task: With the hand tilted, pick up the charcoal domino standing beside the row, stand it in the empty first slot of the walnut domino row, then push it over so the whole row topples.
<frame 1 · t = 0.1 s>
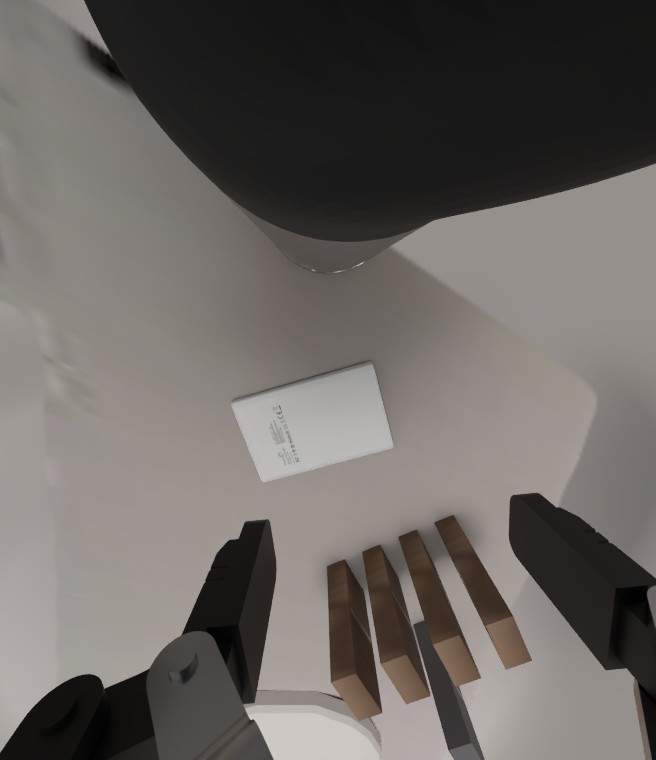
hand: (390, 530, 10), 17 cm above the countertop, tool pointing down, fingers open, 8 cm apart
decorative plate: (288, 747, 42), on the countertop
domino 2: (345, 579, 33), on the countertop
domino 5: (452, 537, 32), on the countertop
domino 4: (416, 550, 32), on the countertop
domino 3: (380, 565, 33), on the countertop
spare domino: (429, 635, 36), on the countertop
external hard drive: (315, 419, 29), on the countertop
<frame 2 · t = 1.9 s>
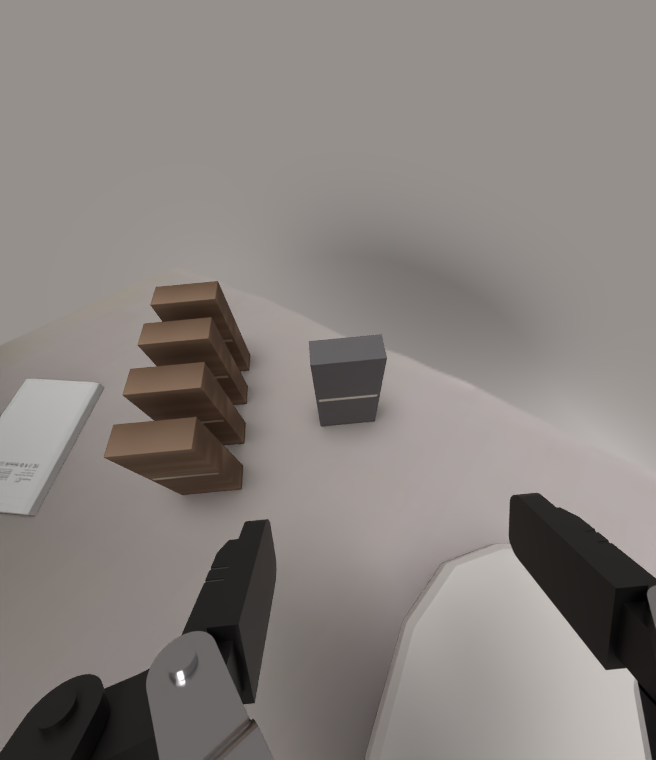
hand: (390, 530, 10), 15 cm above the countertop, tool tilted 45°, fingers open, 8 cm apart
domino 2: (213, 479, 27), on the countertop
domino 5: (226, 364, 33), on the countertop
domino 4: (222, 397, 31), on the countertop
domino 3: (217, 435, 29), on the countertop
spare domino: (346, 414, 29), on the countertop
external hard drive: (40, 444, 30), on the countertop
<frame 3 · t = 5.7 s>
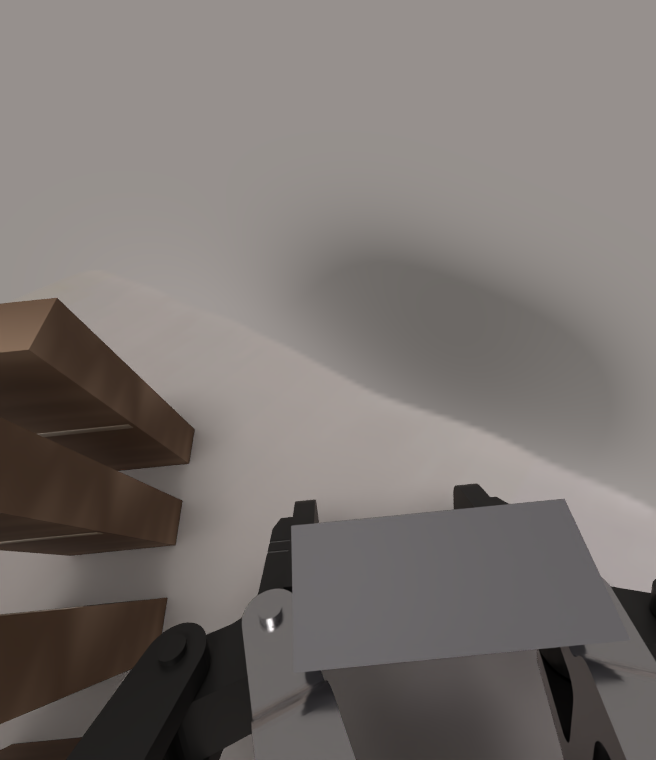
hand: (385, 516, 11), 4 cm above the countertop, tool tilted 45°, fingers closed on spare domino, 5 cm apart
domino 5: (147, 450, 17), on the countertop
domino 4: (128, 527, 15), on the countertop
domino 3: (103, 632, 13), on the countertop
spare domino: (384, 577, 14), on the countertop, touching gripper
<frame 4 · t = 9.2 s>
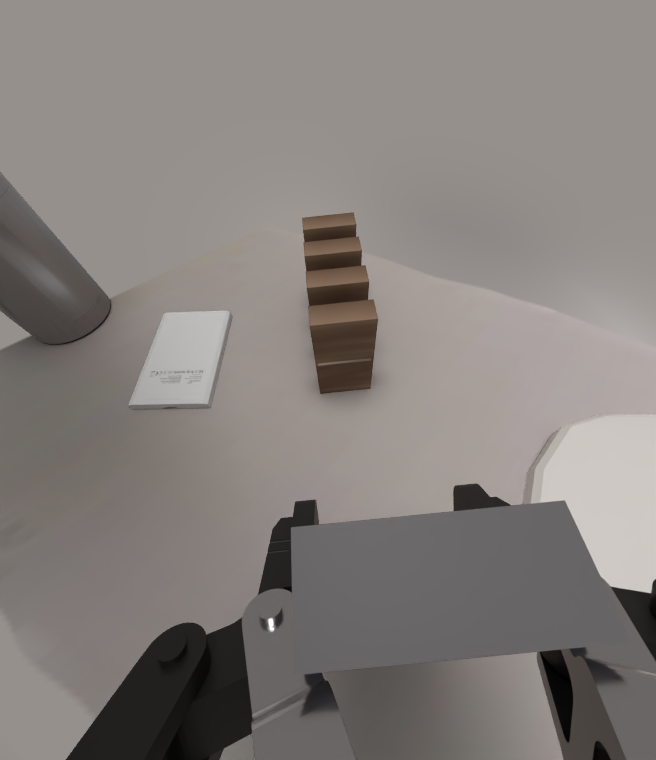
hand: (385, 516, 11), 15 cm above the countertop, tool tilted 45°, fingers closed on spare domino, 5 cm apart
domino 2: (344, 382, 32), on the countertop
domino 5: (333, 299, 38), on the countertop
domino 4: (336, 323, 36), on the countertop
domino 3: (339, 351, 34), on the countertop
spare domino: (384, 578, 14), point 11 cm above the countertop, touching gripper
external hard drive: (189, 362, 35), on the countertop
when the fingers open (5 cm above the countertop, at t = 12.7 s): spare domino stays where it is, on the countertop.
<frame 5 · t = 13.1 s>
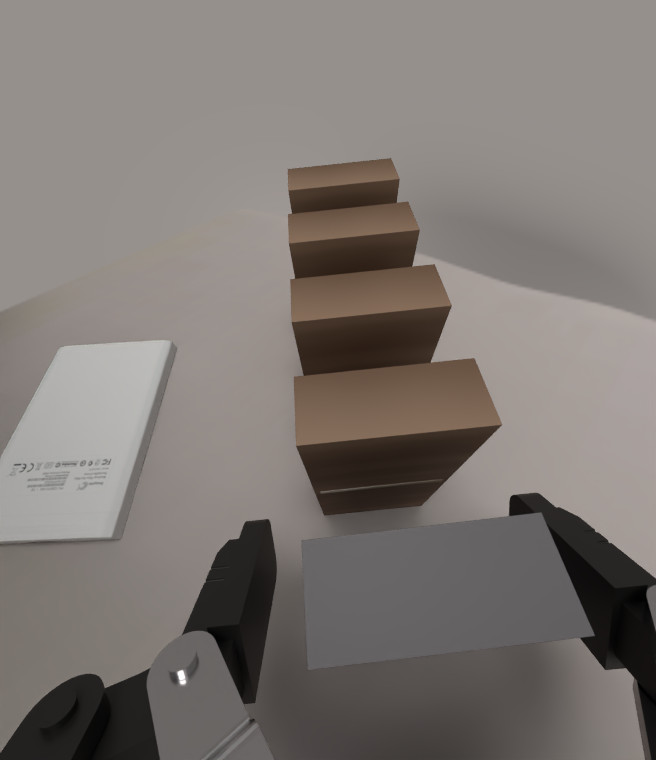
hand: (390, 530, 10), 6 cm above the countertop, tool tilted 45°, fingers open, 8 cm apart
domino 2: (369, 490, 17), on the countertop
domino 5: (344, 322, 23), on the countertop
domino 4: (350, 365, 21), on the countertop
domino 3: (358, 420, 19), on the countertop
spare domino: (384, 579, 14), on the countertop
external hard drive: (98, 435, 20), on the countertop
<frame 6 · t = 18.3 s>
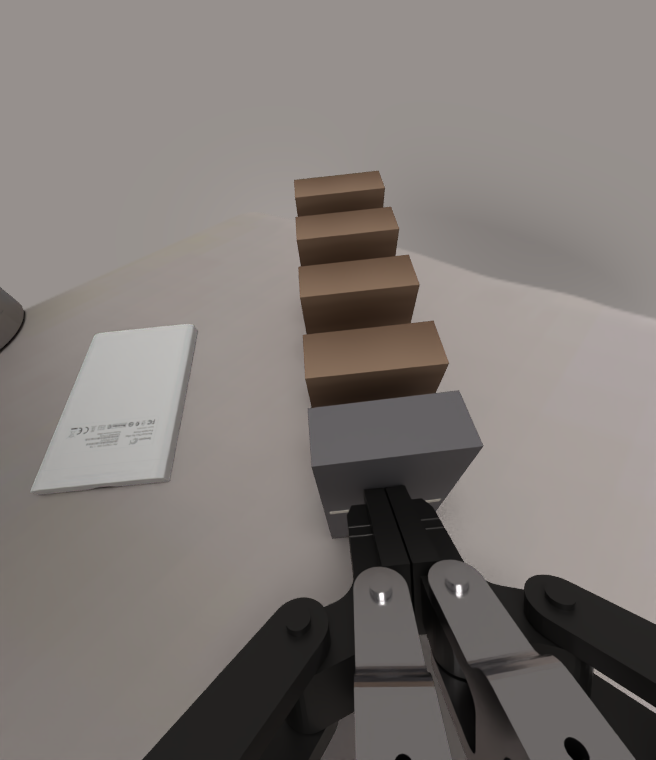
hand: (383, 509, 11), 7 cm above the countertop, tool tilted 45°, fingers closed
domino 2: (363, 446, 20), on the countertop
domino 5: (342, 310, 26), on the countertop
domino 4: (347, 346, 24), on the countertop
domino 3: (354, 391, 22), on the countertop
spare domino: (374, 513, 18), on the countertop, tilted 5°
external hard drive: (136, 406, 23), on the countertop
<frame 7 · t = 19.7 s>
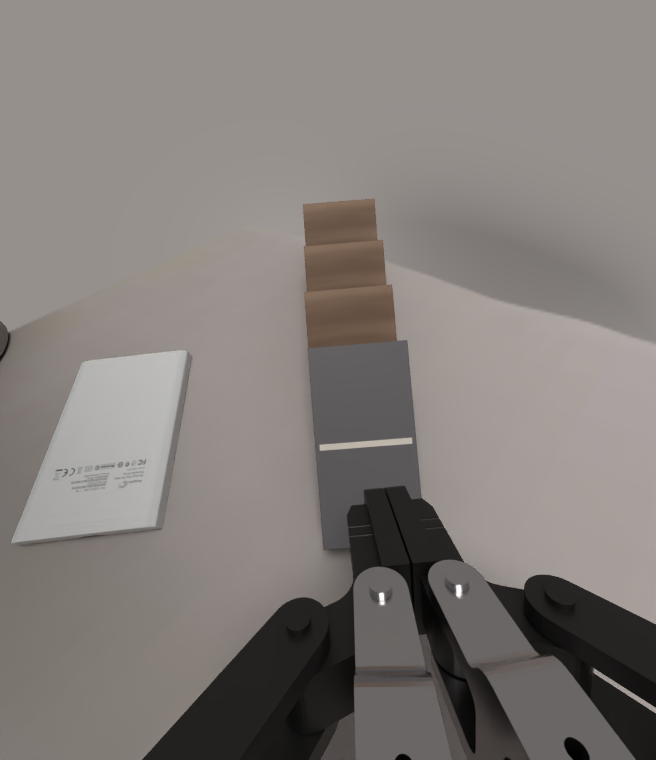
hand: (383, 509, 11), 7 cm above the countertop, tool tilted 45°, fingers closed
domino 2: (360, 460, 19), point 1 cm above the countertop, tilted 59°, touching domino 3, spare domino
domino 4: (347, 346, 23), point 1 cm above the countertop, tilted 58°, touching domino 3, domino 5
domino 3: (354, 399, 21), point 1 cm above the countertop, tilted 58°, touching domino 2, domino 4
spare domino: (371, 536, 16), point 1 cm above the countertop, tilted 59°, touching domino 2
external hard drive: (126, 440, 22), on the countertop
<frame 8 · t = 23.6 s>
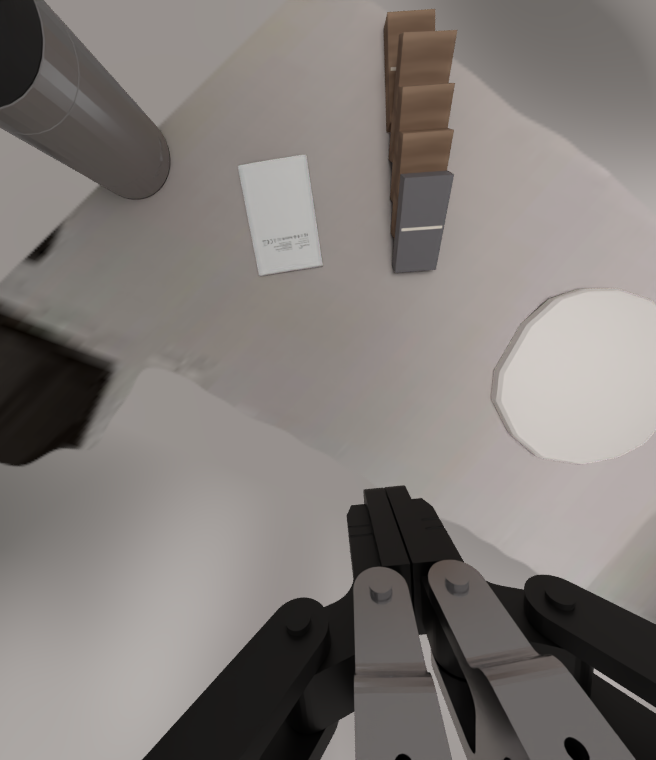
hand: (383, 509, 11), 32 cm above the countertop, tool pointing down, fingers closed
decorative plate: (579, 379, 44), on the countertop
domino 2: (412, 234, 38), point 1 cm above the countertop, tilted 59°, touching domino 3, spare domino
domino 5: (409, 126, 36), point 1 cm above the countertop, tilted 90°, touching domino 4
domino 4: (411, 159, 37), point 1 cm above the countertop, tilted 59°, touching domino 3, domino 5
domino 3: (412, 199, 38), point 1 cm above the countertop, tilted 59°, touching domino 2, domino 4
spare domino: (413, 267, 39), point 1 cm above the countertop, tilted 59°, touching domino 2
external hard drive: (283, 221, 39), on the countertop
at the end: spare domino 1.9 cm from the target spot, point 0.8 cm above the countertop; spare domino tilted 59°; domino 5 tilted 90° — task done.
